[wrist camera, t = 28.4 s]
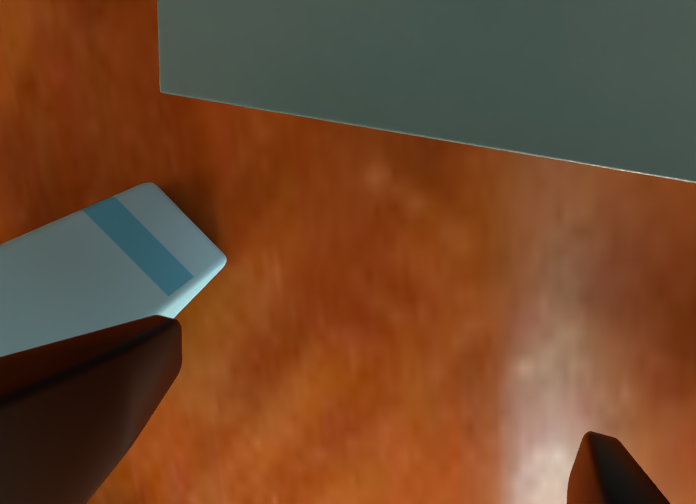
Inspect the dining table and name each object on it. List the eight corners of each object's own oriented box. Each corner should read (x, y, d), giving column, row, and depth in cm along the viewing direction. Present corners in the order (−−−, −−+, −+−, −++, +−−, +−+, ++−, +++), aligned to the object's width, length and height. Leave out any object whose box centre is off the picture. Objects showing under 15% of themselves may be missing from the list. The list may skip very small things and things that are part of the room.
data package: (165, 170, 24) (-130, 296, 14) (241, 248, 24) (11, 431, 14) (45, 323, 30) (-231, 497, 19) (108, 385, 30) (-128, 590, 19)
